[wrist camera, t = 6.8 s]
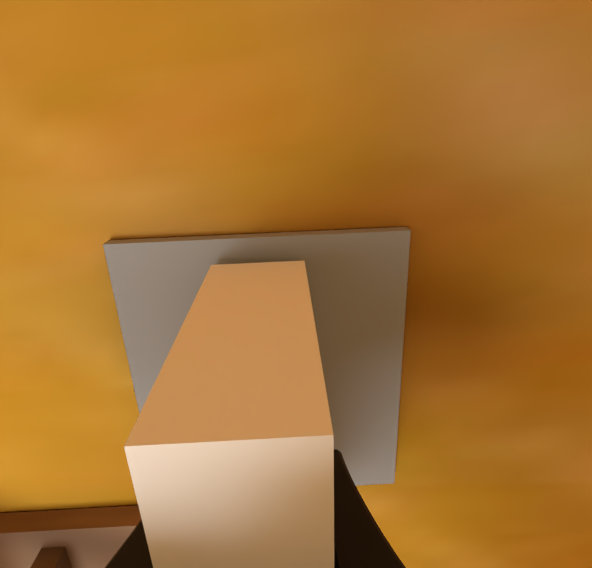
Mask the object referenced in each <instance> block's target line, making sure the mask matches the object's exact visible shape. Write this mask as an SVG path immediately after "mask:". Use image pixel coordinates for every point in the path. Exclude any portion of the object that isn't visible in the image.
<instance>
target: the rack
mask: <svg viewBox="0 0 592 568" xmlns="http://www.w3.org/2000/svg"><path fill="white" fill-rule="evenodd" d="M140 520H141V515H140V511H139V506H138V505H135V506H118V507H100V508H82V509H64V510H47V511H29V512H11V513H0V568H105V567H106V565H107V564H108V563H109V561H110V560H111V559H112V558H113V556H114V555H115V554H116V552H117V551H118V550H119V548H120V547H121V546H122V545H123V543H124V542H125V541H126V539H127V538H128V537H129V535H130V534H131V533H132V531H133V530H134V528H135V527H136V526H137V524H138V523H139V521H140Z"/></svg>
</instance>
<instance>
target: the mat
mask: <svg viewBox="0 0 592 568" xmlns="http://www.w3.org/2000/svg"><path fill="white" fill-rule="evenodd" d="M410 235H411V230H410V229H409V228H407V227H389V228H367V229H345V230H323V231H301V232H279V233H257V234H235V235H213V236H191V237H169V238H146V239H124V240H108V241H107V242H106V243H104V244H103V247H104V252H105V256H106V261H107V265H108V270H109V275H110V279H111V284H112V288H113V293H114V298H115V302H116V307H117V312H118V316H119V321H120V325H121V330H122V335H123V339H124V344H125V349H126V353H127V358H128V362H129V367H130V372H131V376H132V381H133V385H134V390H135V395H136V399H137V404H138V409H139V413H140V412H141V410H142V408H143V406H144V404H145V402H146V400H147V398H148V395H149V393H150V391H151V389H152V387H153V385H154V383H155V381H156V379H157V377H158V375H159V373H160V370H161V368H162V366H163V364H164V362H165V360H166V358H167V356H168V354H169V352H170V350H171V348H172V345H173V343H174V341H175V339H176V337H177V335H178V333H179V331H180V329H181V327H182V325H183V322H184V320H185V318H186V316H187V314H188V312H189V310H190V308H191V306H192V304H193V302H194V300H195V297H196V295H197V293H198V291H199V289H200V287H201V285H202V283H203V281H204V279H205V277H206V275H207V272H208V270H209V268H210V266H211V265H219V264H241V263H262V262H283V261H305V267H306V273H307V279H308V285H309V291H310V297H311V303H312V309H313V315H314V321H315V327H316V333H317V339H318V345H319V351H320V357H321V363H322V369H323V375H324V381H325V387H326V393H327V399H328V405H329V411H330V417H331V423H332V429H333V435H334V450H336V449H337V450H339V451H340V452H341V453H342V456H343V459H344V461H345V464H346V466H347V469H348V471H349V473H350V475H351V478H352V480H353V482H354V484H355V486H356V485H374V484H392V483H394V480H395V465H396V449H397V434H398V419H399V403H400V388H401V373H402V358H403V342H404V327H405V312H406V296H407V281H408V266H409V251H410Z"/></svg>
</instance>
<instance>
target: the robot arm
mask: <svg viewBox="0 0 592 568" xmlns="http://www.w3.org/2000/svg"><path fill="white" fill-rule="evenodd" d="M105 568H153V565H152V560H151V556H150V552H149V548H148V544H147V540H146V536H145V531H144V527H143V523H142V519H141V520H140V521H139V523H138V524H137V526H136V527H135V528H134V530H133V531H132V533H131V534H130V535H129V537H128V538H127V539H126V541H125V542H124V543H123V545H122V546H121V547H120V548H119V550H118V551H117V552H116V554H115V555H114V556H113V558H112V559H111V560H110V561H109V563H108V564H107V565H106V567H105ZM334 568H405V566H404V565H403V563H402V562H401V560H400V559H399V558H398V556H397V555H396V553H395V552H394V550H393V549H392V547H391V546H390V544H389V542H388V541H387V539H386V538H385V536H384V535H383V533H382V532H381V530H380V528H379V527H378V525H377V523H376V522H375V520H374V518H373V517H372V515H371V513H370V511H369V510H368V508H367V506H366V504H365V503H364V501H363V499H362V497H361V495H360V494H359V492H358V490H357V488H356V486H355V484H354V482H353V480H352V478H351V475H350V473H349V471H348V469H347V466H346V464H345V461H344V459H343V456H342V453H341V452H340V451H339V450H337V449H336V450H334Z"/></svg>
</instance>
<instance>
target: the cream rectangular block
mask: <svg viewBox="0 0 592 568" xmlns="http://www.w3.org/2000/svg"><path fill="white" fill-rule="evenodd" d="M124 448H125V453H126V457H127V461H128V465H129V469H130V473H131V477H132V482H133V486H134V490H135V494H136V498H137V502H138V506H139V511H140V515H141V519H142V523H143V527H144V531H145V536H146V540H147V544H148V548H149V552H150V556H151V560H152V565H153V568H334V435H333V429H332V423H331V417H330V411H329V405H328V399H327V393H326V387H325V381H324V375H323V369H322V363H321V357H320V351H319V345H318V339H317V333H316V327H315V321H314V315H313V309H312V303H311V297H310V291H309V285H308V279H307V273H306V267H305V261H283V262H262V263H241V264H219V265H211V266H210V268H209V270H208V272H207V275H206V277H205V279H204V281H203V283H202V285H201V287H200V289H199V291H198V293H197V295H196V297H195V300H194V302H193V304H192V306H191V308H190V310H189V312H188V314H187V316H186V318H185V320H184V322H183V325H182V327H181V329H180V331H179V333H178V335H177V337H176V339H175V341H174V343H173V345H172V348H171V350H170V352H169V354H168V356H167V358H166V360H165V362H164V364H163V366H162V368H161V370H160V373H159V375H158V377H157V379H156V381H155V383H154V385H153V387H152V389H151V391H150V393H149V395H148V398H147V400H146V402H145V404H144V406H143V408H142V410H141V412H140V414H139V416H138V418H137V420H136V423H135V425H134V427H133V429H132V431H131V433H130V435H129V437H128V439H127V441H126V443H125V446H124Z"/></svg>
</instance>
